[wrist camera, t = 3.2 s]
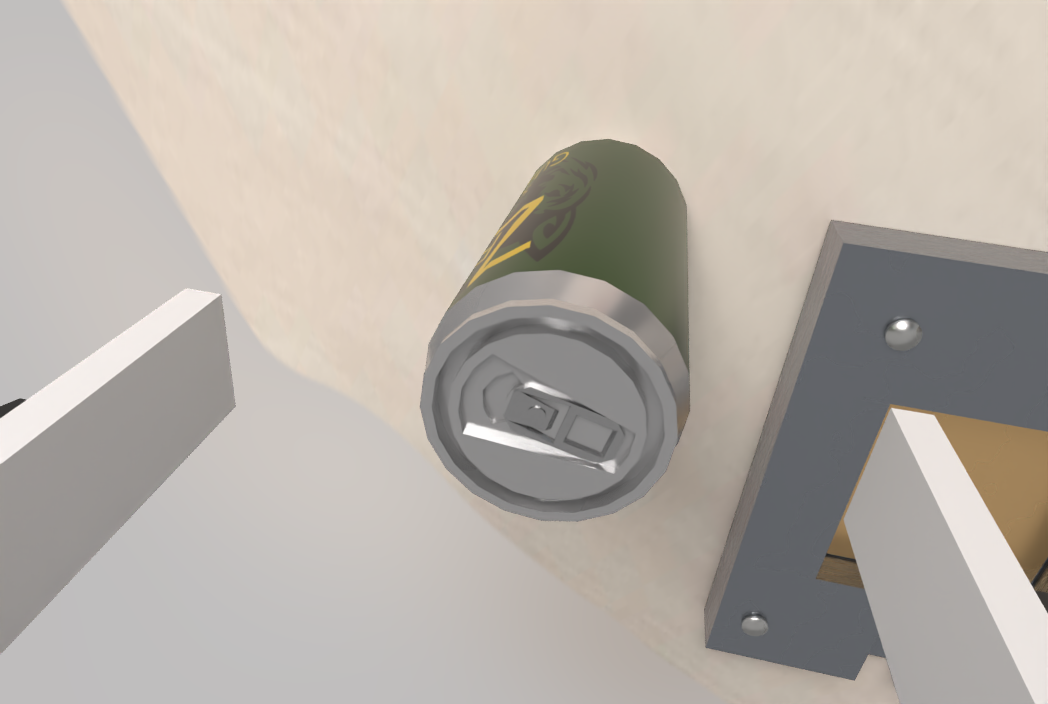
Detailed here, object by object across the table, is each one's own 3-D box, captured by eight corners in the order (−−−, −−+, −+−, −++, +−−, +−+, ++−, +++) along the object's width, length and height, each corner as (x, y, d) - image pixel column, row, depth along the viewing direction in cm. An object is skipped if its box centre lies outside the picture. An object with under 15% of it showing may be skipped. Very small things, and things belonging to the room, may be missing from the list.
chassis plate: (831, 220, 22) (844, 245, 21) (1327, 293, 21) (1391, 328, 19) (704, 609, 32) (705, 651, 30) (1042, 682, 30) (1067, 731, 28)
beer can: (717, 171, 22) (746, 364, 12) (646, 313, 25) (621, 566, 15) (557, 106, 22) (451, 245, 12) (503, 255, 25) (381, 469, 15)
